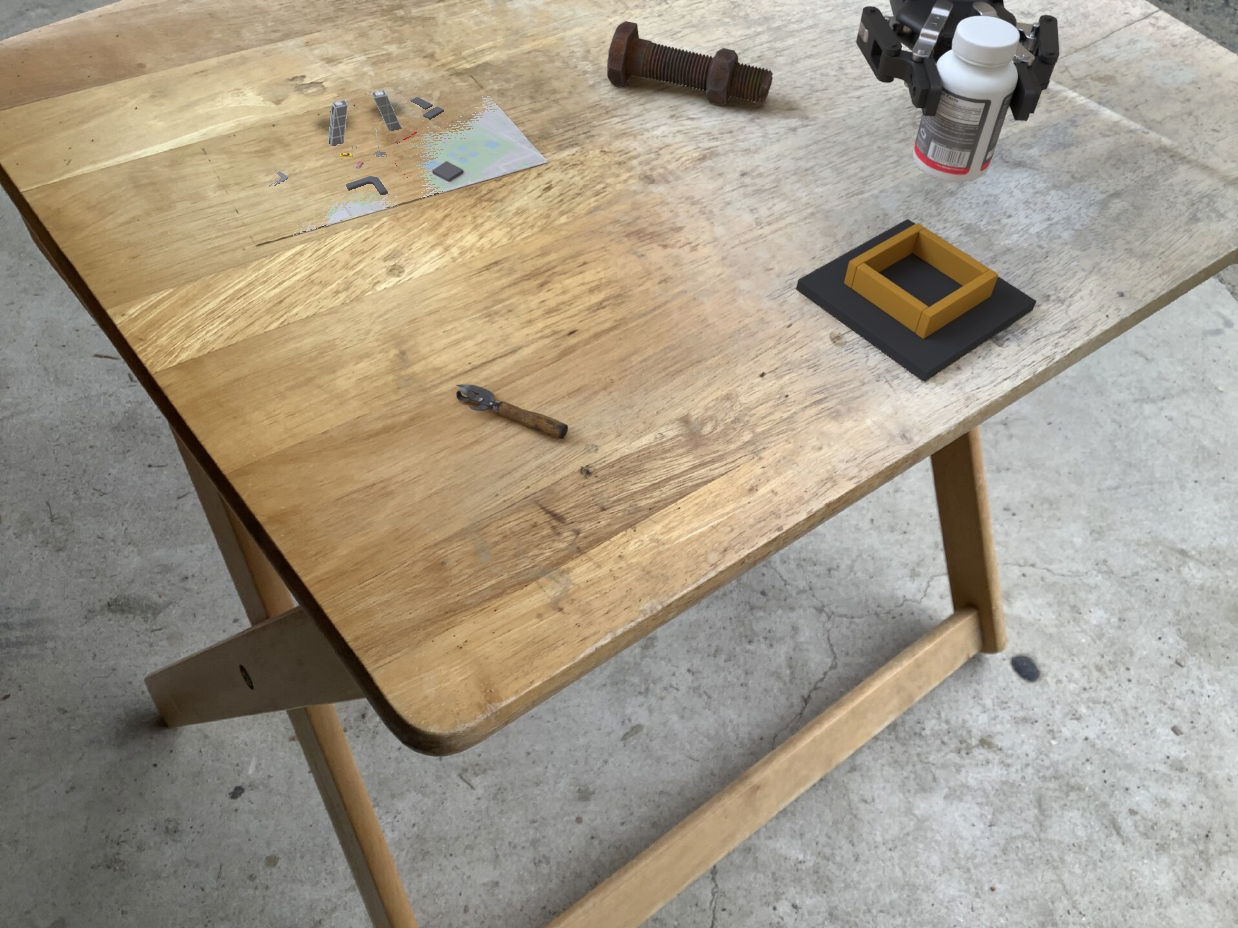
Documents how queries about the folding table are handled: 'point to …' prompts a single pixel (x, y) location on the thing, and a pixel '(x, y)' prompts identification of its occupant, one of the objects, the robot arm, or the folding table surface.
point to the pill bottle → (969, 101)
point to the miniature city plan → (483, 153)
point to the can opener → (511, 411)
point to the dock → (916, 298)
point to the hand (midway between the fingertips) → (980, 105)
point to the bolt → (685, 68)
